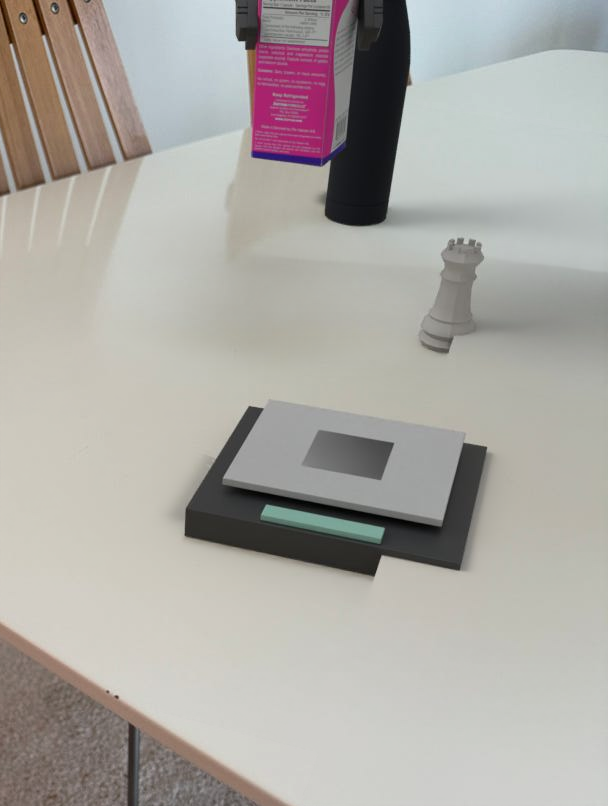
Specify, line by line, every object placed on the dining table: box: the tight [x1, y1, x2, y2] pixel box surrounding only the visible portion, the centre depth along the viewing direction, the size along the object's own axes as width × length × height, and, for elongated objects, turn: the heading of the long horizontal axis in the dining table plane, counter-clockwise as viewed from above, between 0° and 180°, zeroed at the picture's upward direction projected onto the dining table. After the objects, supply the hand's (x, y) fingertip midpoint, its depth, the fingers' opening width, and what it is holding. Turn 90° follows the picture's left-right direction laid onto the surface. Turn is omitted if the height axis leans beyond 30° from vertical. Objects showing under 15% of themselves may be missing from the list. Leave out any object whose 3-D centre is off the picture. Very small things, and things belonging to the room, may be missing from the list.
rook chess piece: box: [417, 237, 485, 354], centre depth 82 cm, size 4×4×8 cm
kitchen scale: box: [183, 399, 488, 576], centre depth 65 cm, size 16×14×3 cm
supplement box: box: [250, 0, 359, 168], centre depth 75 cm, size 6×6×12 cm
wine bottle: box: [324, 0, 412, 227], centre depth 99 cm, size 6×6×30 cm
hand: (309, 42), depth 72 cm, fingers closed on supplement box, 7 cm apart
